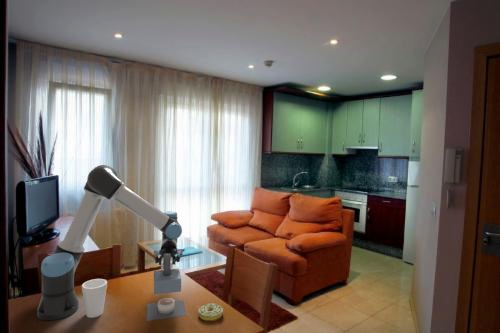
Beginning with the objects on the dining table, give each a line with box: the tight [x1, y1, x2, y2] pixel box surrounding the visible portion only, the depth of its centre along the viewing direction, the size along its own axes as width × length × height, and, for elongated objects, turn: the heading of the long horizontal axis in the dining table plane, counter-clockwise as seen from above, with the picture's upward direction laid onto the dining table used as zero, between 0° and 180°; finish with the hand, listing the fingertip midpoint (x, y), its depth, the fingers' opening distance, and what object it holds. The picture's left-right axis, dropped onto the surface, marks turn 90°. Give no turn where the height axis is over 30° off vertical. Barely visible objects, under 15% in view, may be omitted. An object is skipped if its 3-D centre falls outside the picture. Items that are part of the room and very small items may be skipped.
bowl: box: [157, 297, 176, 314], centre depth 135 cm, size 7×7×4 cm
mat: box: [146, 299, 187, 322], centre depth 135 cm, size 16×14×1 cm
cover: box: [153, 253, 182, 295], centre depth 134 cm, size 11×11×15 cm
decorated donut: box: [197, 302, 224, 322], centre depth 131 cm, size 10×11×4 cm
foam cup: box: [81, 278, 108, 319], centre depth 130 cm, size 10×9×13 cm
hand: (166, 266), depth 128 cm, fingers closed on cover, 3 cm apart
